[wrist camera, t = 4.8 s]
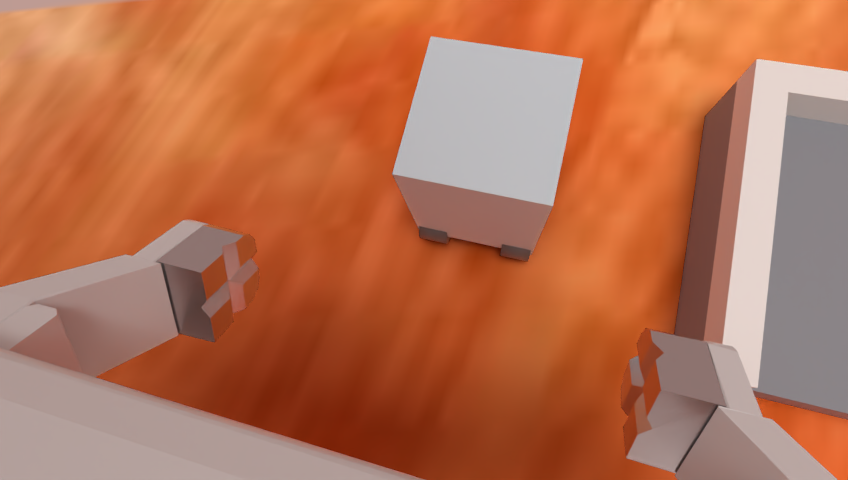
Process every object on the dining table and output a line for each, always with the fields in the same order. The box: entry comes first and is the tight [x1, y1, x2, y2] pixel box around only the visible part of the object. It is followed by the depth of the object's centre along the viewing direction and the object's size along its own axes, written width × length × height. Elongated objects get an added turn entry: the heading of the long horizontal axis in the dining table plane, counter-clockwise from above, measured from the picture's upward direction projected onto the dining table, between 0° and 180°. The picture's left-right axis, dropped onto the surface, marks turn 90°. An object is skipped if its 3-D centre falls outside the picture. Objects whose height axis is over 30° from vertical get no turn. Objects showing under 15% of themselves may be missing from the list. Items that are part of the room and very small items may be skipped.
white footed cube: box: [392, 37, 583, 261], centre depth 19 cm, size 5×6×8 cm
